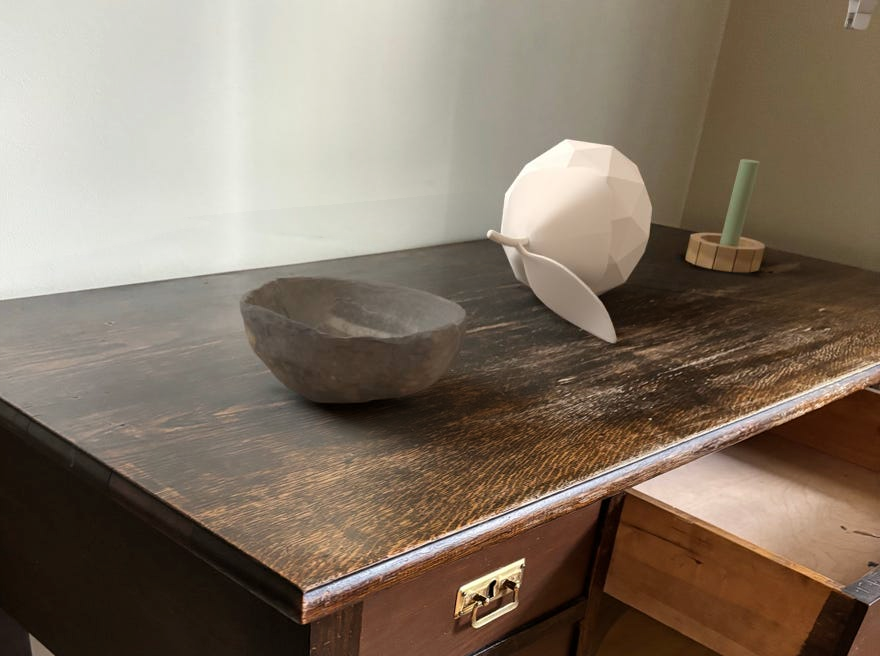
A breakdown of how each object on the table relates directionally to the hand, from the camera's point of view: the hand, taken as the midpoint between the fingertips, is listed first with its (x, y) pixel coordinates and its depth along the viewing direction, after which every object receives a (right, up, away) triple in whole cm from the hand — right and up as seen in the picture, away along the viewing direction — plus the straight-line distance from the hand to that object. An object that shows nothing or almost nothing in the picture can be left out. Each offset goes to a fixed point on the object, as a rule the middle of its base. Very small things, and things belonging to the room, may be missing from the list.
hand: (854, 29), depth 124 cm
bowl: (-63, -58, -43) cm, 96 cm away
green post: (-15, -29, +8) cm, 33 cm away
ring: (-14, -27, +9) cm, 31 cm away
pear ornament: (-41, -41, -15) cm, 60 cm away
